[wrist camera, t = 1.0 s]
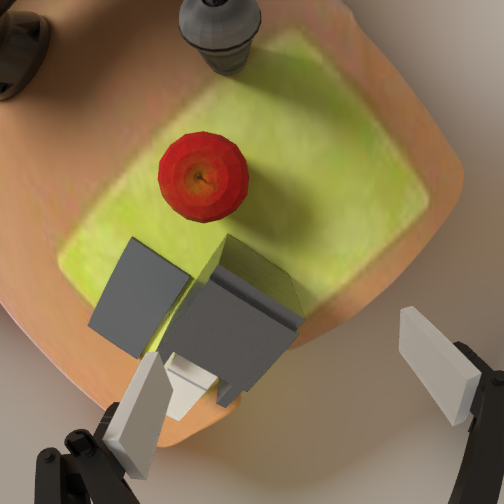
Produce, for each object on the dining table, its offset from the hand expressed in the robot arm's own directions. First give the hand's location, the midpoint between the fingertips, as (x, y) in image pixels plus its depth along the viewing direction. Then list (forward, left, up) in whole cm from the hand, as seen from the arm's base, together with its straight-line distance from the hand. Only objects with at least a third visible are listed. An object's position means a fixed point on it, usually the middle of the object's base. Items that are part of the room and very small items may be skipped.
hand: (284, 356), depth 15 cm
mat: (-10, -16, -24) cm, 30 cm away
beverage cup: (-17, +17, -24) cm, 34 cm away
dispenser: (0, -8, -23) cm, 25 cm away
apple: (-10, +4, -24) cm, 26 cm away
